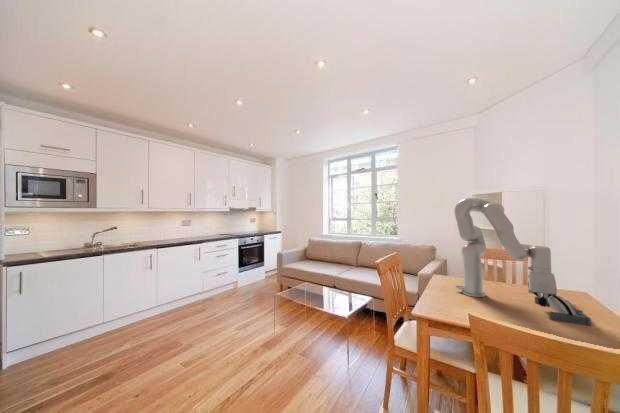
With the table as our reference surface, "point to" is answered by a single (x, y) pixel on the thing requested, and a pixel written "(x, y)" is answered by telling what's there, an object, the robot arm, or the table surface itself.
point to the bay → (569, 315)
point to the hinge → (560, 305)
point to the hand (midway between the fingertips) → (542, 305)
